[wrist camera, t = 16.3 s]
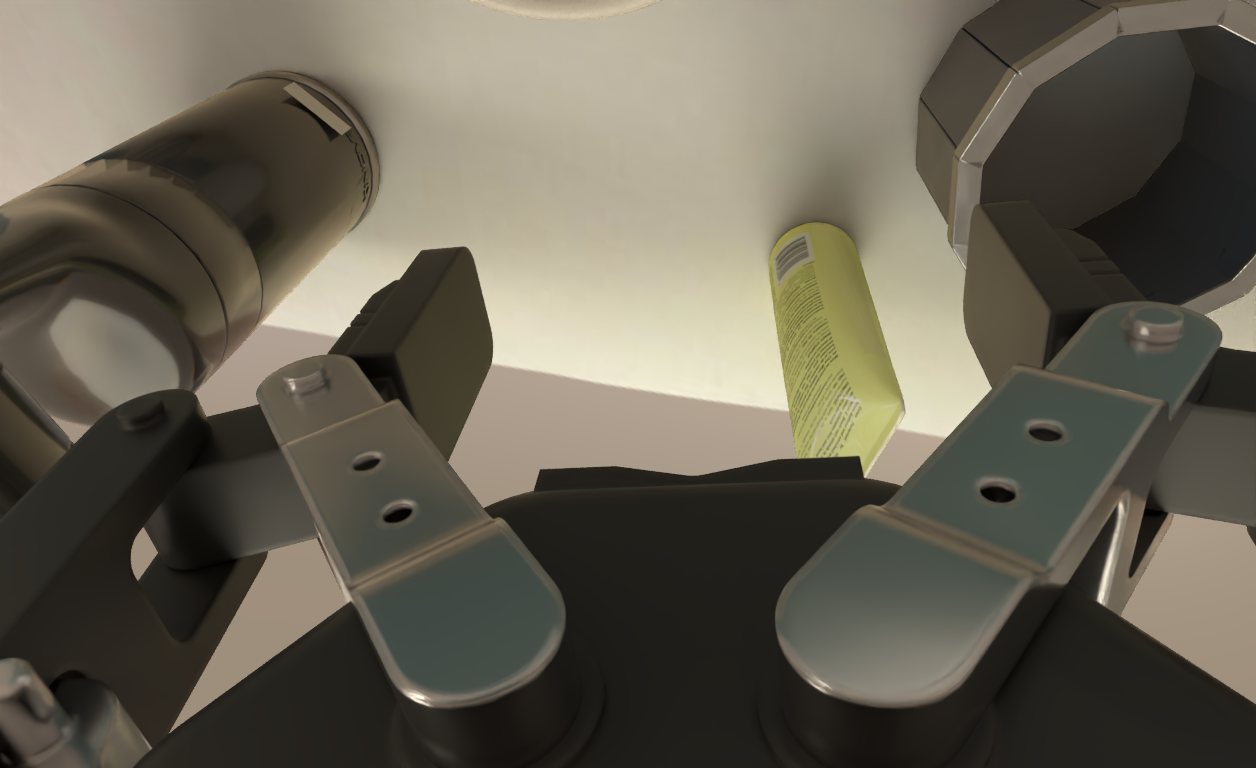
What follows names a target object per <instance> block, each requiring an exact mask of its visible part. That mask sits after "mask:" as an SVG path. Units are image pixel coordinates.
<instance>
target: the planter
mask: <svg viewBox="0 0 1256 768" xmlns="http://www.w3.org/2000/svg"><path fill="white" fill-rule="evenodd" d="M469 1H472V2H475V3H477V4H480V5H483V6H485V7H488V8H490V9H493V10H497V11H501V12H505V13H509V14H512V15H516V16H521V17H528V18H535V19H542V20H559V21H577V20H589V19H600V18H605V17H610V16H615V15H620V14H625V13H628V12H631V11H635V10H638V9H641V8H644V7H647V6H650V5H653V4H655V3H657V2H660V1H662V0H469Z"/></svg>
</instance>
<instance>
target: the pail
mask: <svg viewBox="0 0 1256 768" xmlns="http://www.w3.org/2000/svg"><path fill="white" fill-rule="evenodd" d="M963 28H964V29H960V30H959V32H958V34H957V35H956V37H955V39H954V40H953V42H952V44H951V45H950V47H949V49H948V50H947V52H946V54H945V55H944V57H943V59H942V60H941V62H940V64H939V65H938V67H937V69H936V70H935V72H934V74H933V75H932V77H931V79H930V80H929V82H928V84H927V85H926V87H925V89H924V90H923V92H922V94H921V95H920V97H921V98H920V99H919V111H918V131H917V151H916V167H917V171H918V173H919V174H920V176H921V178H922V180H923V181H924V183H925V185H926V187H927V189H928V190H929V192H930V194H931V196H932V198H933V199H934V201H935V203H936V205H937V206H938V208H939V210H940V212H941V214H942V215H943V217H944V219H945V221H946V223H947V224H948V233H947V237H948V242H949V243H950V245H951V247H952V249H953V251H954V252H955V254H956V256H957V257H958V259H959V261H960V262H961V264H962V265H963V267H964V269H965V270H966V264H967V253H968V241H969V230H970V220H971V215H972V211H973V208H974V207H975V205H977V204H980V195H981V185H982V174H983V165H984V163H985V162H986V160H987V159H988V157H989V156H990V154H991V153H992V151H993V150H994V148H995V147H996V145H997V144H998V142H999V141H1000V139H1001V138H1002V137H1003V135H1004V134H1005V132H1006V131H1007V129H1008V128H1009V126H1010V125H1011V123H1012V122H1013V120H1014V119H1015V117H1016V116H1017V114H1018V113H1019V111H1020V110H1021V108H1022V107H1023V105H1024V104H1025V102H1026V101H1027V100H1028V98H1029V97H1030V95H1031V94H1032V92H1033V91H1034V89H1035V88H1037V87H1038V86H1040V85H1041V84H1043V83H1045V82H1046V81H1048V80H1050V79H1051V78H1053V77H1054V76H1056V75H1058V74H1059V73H1061V72H1062V71H1064V70H1066V69H1067V68H1069V67H1071V66H1072V65H1074V64H1075V63H1077V62H1079V61H1080V60H1082V59H1083V58H1085V57H1087V56H1088V55H1090V54H1092V53H1093V52H1095V51H1096V50H1098V49H1100V48H1101V47H1103V46H1104V45H1106V44H1108V43H1109V42H1111V41H1113V40H1114V39H1116V38H1117V37H1119V36H1125V35H1134V34H1143V33H1153V32H1162V31H1171V30H1178V32H1179V34H1180V37H1181V39H1182V42H1183V44H1184V46H1185V49H1186V51H1187V53H1188V56H1189V58H1190V61H1191V63H1192V65H1193V68H1194V70H1195V72H1196V73H1195V78H1194V82H1193V87H1192V92H1191V96H1190V101H1189V106H1188V110H1187V115H1186V120H1185V124H1184V129H1183V134H1182V139H1181V140H1180V142H1179V143H1178V144H1177V145H1176V147H1175V148H1174V149H1173V150H1172V152H1171V153H1170V154H1169V155H1168V157H1167V158H1166V159H1165V160H1164V162H1163V163H1162V164H1161V165H1160V167H1159V168H1158V169H1157V170H1156V172H1155V173H1154V174H1153V175H1152V177H1151V178H1150V179H1149V180H1148V182H1147V183H1146V184H1145V185H1144V187H1143V188H1142V189H1141V190H1140V192H1139V193H1138V194H1137V195H1136V196H1135V197H1133V198H1132V199H1130V200H1128V201H1126V202H1124V203H1122V204H1121V205H1119V206H1117V207H1115V208H1113V209H1111V210H1110V211H1108V212H1106V213H1104V214H1102V215H1100V216H1098V217H1097V218H1095V219H1093V220H1091V221H1089V222H1087V223H1086V224H1084V225H1082V226H1080V227H1078V228H1076V229H1074V230H1071V231H1073V232H1076V233H1078V234H1080V235H1082V236H1084V237H1086V238H1088V239H1091V240H1093V241H1094V242H1095V243H1096V244H1097V245H1098V246H1099V247H1100V248H1101V249H1102V251H1103V252H1104V253H1105V254H1106V255H1107V256H1108V260H1111V261H1112V262H1113V263H1114V264H1115V265H1116V266H1117V267H1118V268H1119V270H1120V274H1122V273H1123V274H1124V275H1125V276H1126V277H1127V278H1128V280H1129V281H1130V282H1131V283H1132V284H1133V285H1134V286H1135V287H1136V289H1137V290H1138V291H1139V292H1140V293H1141V294H1142V295H1143V296H1144V297H1145V299H1146V300H1147V301H1150V302H1161V303H1167V304H1172V305H1177V306H1181V307H1184V308H1187V309H1191V310H1193V311H1196V312H1198V313H1201V314H1202V315H1205V314H1207V313H1209V312H1211V311H1213V310H1216V309H1218V308H1220V307H1222V306H1224V305H1226V304H1228V303H1230V302H1232V301H1235V300H1237V299H1239V298H1241V297H1243V296H1244V294H1248V293H1249V292H1250V291H1251V290H1252V288H1253V287H1254V286H1255V285H1256V7H1254V6H1252V5H1250V4H1248V3H1246V2H1244V1H1243V0H1001V1H999V2H998V3H996V4H995V5H993V6H992V7H990V8H989V9H987V10H986V11H984V12H983V13H982V14H980V15H979V16H977V17H976V18H974V19H973V20H971V21H970V22H968V23H967V24H965V25H964V26H963Z"/></svg>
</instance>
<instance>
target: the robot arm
mask: <svg viewBox="0 0 1256 768" xmlns="http://www.w3.org/2000/svg"><path fill="white" fill-rule="evenodd" d="M379 178H380V172H379V162H378V157H377V152H376V149H375V146H374V143H373V141H372V138H371V136H370V134H369V132H368V130H367V128H366V127H365V125H364V123H363V122H362V120H361V119H360V117H359V116H358V115H357V114H356V112H355V111H354V110H353V109H352V108H351V107H350V105H349V104H348V103H347V102H346V101H344V100H343V99H342V98H341V97H340V96H339V95H338V94H336V93H335V92H334V91H332V90H331V89H329V88H328V87H326V86H325V85H323V84H321V83H319V82H317V81H315V80H313V79H311V78H308V77H306V76H303V75H299V74H295V73H291V72H284V71H267V72H261V73H257V74H253V75H250V76H248V77H246V78H244V79H242V80H240V81H238V82H236V83H234V84H233V85H231V86H230V87H228V88H227V89H226V90H225V91H223V92H221V93H219V94H217V95H215V96H213V97H211V98H209V99H207V100H205V101H203V102H201V103H199V104H197V105H195V106H193V107H191V108H189V109H187V110H185V111H183V112H181V113H180V114H178V115H176V116H174V117H172V118H170V119H168V120H166V121H164V122H162V123H160V124H158V125H156V126H154V127H152V128H150V129H148V130H146V131H145V132H143V133H141V134H139V135H137V136H135V137H133V138H131V139H129V140H127V141H125V142H123V143H121V144H119V145H117V146H115V147H113V148H111V149H109V150H108V151H106V152H104V153H102V154H100V155H98V156H96V157H94V158H92V159H90V160H88V161H86V162H84V163H82V164H81V165H79V166H77V167H75V168H73V169H71V170H70V171H68V172H66V173H64V174H62V175H60V176H58V177H56V178H54V179H52V180H50V181H48V182H46V183H44V184H42V185H40V186H38V187H36V188H34V189H32V190H31V191H29V192H26V193H24V194H22V195H20V196H18V197H16V198H14V199H12V200H11V201H9V202H7V203H5V204H3V205H1V206H0V768H1256V704H1254V703H1253V702H1251V701H1250V700H1248V699H1247V698H1245V697H1244V696H1242V695H1240V694H1239V693H1238V692H1236V691H1234V690H1233V689H1231V688H1230V687H1228V686H1226V685H1225V684H1224V683H1222V682H1221V681H1219V680H1218V679H1216V678H1214V677H1213V676H1211V675H1210V674H1208V673H1207V672H1205V671H1204V670H1202V669H1201V668H1199V667H1197V666H1196V665H1194V664H1193V663H1191V662H1190V661H1188V660H1186V659H1185V658H1184V657H1182V656H1180V655H1179V654H1177V653H1176V652H1174V651H1173V650H1171V649H1169V648H1168V647H1167V646H1165V645H1164V644H1162V643H1160V642H1159V641H1157V640H1156V639H1154V638H1153V637H1151V636H1150V635H1148V634H1147V633H1145V632H1143V631H1142V630H1141V629H1139V628H1137V627H1136V626H1134V625H1133V624H1131V623H1129V622H1128V621H1127V620H1125V619H1124V618H1122V617H1121V614H1122V612H1123V610H1124V608H1125V606H1126V604H1127V602H1128V600H1129V599H1130V597H1131V595H1132V593H1133V592H1134V590H1135V588H1136V586H1137V584H1138V583H1139V581H1140V579H1141V577H1142V575H1143V574H1144V572H1145V570H1146V568H1147V566H1148V565H1149V563H1150V561H1151V559H1152V557H1153V556H1154V554H1155V552H1156V550H1157V548H1158V547H1159V545H1160V543H1161V541H1162V539H1163V538H1164V536H1165V534H1166V532H1167V530H1168V529H1169V526H1170V525H1171V522H1172V520H1173V517H1174V513H1175V514H1181V515H1187V516H1193V517H1200V518H1205V519H1211V520H1217V521H1223V522H1229V523H1235V524H1241V525H1246V526H1247V531H1248V533H1249V535H1250V537H1251V539H1252V540H1253V542H1254V543H1255V545H1256V352H1250V351H1242V350H1234V349H1229V348H1224V347H1220V345H1221V341H1222V332H1221V330H1220V328H1219V326H1218V325H1217V324H1216V323H1215V322H1213V321H1212V320H1211V319H1209V318H1208V317H1206V316H1204V315H1202V314H1201V313H1198V312H1196V311H1193V310H1191V309H1187V308H1184V307H1181V306H1177V305H1172V304H1167V303H1161V302H1150V301H1147V300H1146V299H1145V297H1144V296H1143V295H1142V294H1141V293H1140V292H1139V291H1138V290H1137V289H1136V287H1135V286H1134V285H1133V284H1132V283H1131V282H1130V281H1129V280H1128V278H1127V277H1126V276H1125V275H1124V274H1123V273H1122V274H1120V270H1119V268H1118V267H1117V266H1116V265H1115V264H1114V263H1113V262H1112V261H1111V260H1108V256H1107V255H1106V254H1105V253H1104V252H1103V251H1102V249H1101V248H1100V247H1099V246H1098V245H1097V244H1096V243H1095V242H1094V241H1093V240H1091V239H1088V238H1086V237H1084V236H1082V235H1080V234H1078V233H1076V232H1073V231H1071V230H1069V229H1067V228H1063V229H1052V227H1051V226H1050V225H1049V224H1048V223H1047V221H1046V220H1045V219H1044V218H1043V216H1042V215H1041V214H1040V213H1039V212H1038V210H1037V209H1036V208H1035V207H1034V205H1033V204H1032V203H1031V202H1030V201H1029V200H1021V201H1009V202H997V203H985V204H977V205H975V207H974V208H973V211H972V215H971V220H970V230H969V241H968V253H967V264H966V276H965V287H964V300H963V312H964V323H965V329H966V333H967V336H968V339H969V341H970V343H971V345H972V347H973V349H974V351H975V354H976V356H977V358H978V360H979V362H980V364H981V366H982V368H983V370H984V372H985V375H986V377H987V379H988V381H989V383H990V385H991V387H992V390H991V391H990V392H989V393H988V394H987V395H986V396H985V397H984V398H983V399H982V400H981V401H980V403H979V404H978V405H977V406H976V407H975V408H974V409H973V410H972V411H971V412H970V413H969V414H968V416H967V417H966V418H965V419H964V420H963V421H962V422H961V423H960V424H959V425H958V426H957V427H956V429H955V430H954V431H953V432H952V433H951V434H950V435H949V436H948V437H947V438H946V439H945V440H944V442H943V443H942V444H941V445H940V446H939V447H938V448H937V449H936V450H935V451H934V452H933V454H932V455H931V456H930V457H929V458H928V459H927V460H926V461H925V462H924V463H923V465H921V466H920V468H919V469H918V470H917V471H916V472H915V473H914V474H913V475H912V476H911V477H910V478H909V479H908V481H907V482H906V483H905V484H904V485H903V486H900V485H897V484H893V483H888V482H884V481H879V480H874V479H867V478H864V474H863V470H862V465H861V460H860V456H846V457H822V458H799V459H778V460H772V461H768V462H763V463H758V464H753V465H748V466H744V467H739V468H734V469H729V470H724V471H719V472H715V473H710V474H705V475H699V476H686V475H678V474H670V473H662V472H655V471H647V470H640V469H632V468H624V467H617V466H611V467H588V468H564V469H543V470H542V469H541V470H540V472H539V475H538V478H537V482H536V485H535V488H534V491H532V492H527V493H523V494H520V495H517V496H513V497H510V498H507V499H504V500H502V501H499V502H496V503H494V504H492V505H490V506H487V507H485V508H483V507H482V506H481V505H480V503H479V502H478V501H477V500H476V498H475V497H474V496H473V494H472V493H471V492H470V490H469V489H468V488H467V486H466V485H465V484H464V483H463V481H462V480H461V479H460V478H459V476H458V475H457V473H456V472H455V471H454V470H453V468H452V467H451V466H450V464H449V463H448V461H449V458H450V456H451V454H452V452H453V449H454V447H455V445H456V443H457V440H458V438H459V436H460V434H461V431H462V429H463V427H464V424H465V422H466V420H467V418H468V416H469V413H470V411H471V409H472V407H473V405H474V402H475V400H476V398H477V395H478V393H479V391H480V389H481V387H482V384H483V382H484V380H485V378H486V375H487V373H488V371H489V369H490V366H491V363H492V357H493V339H492V332H491V327H490V323H489V319H488V315H487V311H486V307H485V303H484V299H483V295H482V291H481V287H480V282H479V278H478V274H477V270H476V266H475V262H474V259H473V256H472V254H471V252H470V251H469V249H468V248H467V247H454V248H442V249H430V250H422V251H421V252H420V253H419V254H418V255H417V257H416V258H415V260H414V261H413V262H412V264H411V265H410V266H409V268H408V269H407V270H406V272H405V273H404V275H403V276H402V277H401V279H400V280H395V281H393V282H392V283H390V284H389V285H387V286H386V287H384V288H383V289H381V290H380V291H378V292H377V293H375V294H374V295H372V296H371V298H370V299H369V300H368V302H367V303H366V304H365V306H364V307H363V308H362V309H361V311H360V313H361V314H358V315H357V316H356V317H355V318H354V320H353V321H352V322H351V324H350V325H351V327H348V328H347V329H346V330H345V331H344V333H343V334H342V335H341V337H340V338H339V339H338V341H337V342H336V343H335V345H334V346H333V347H332V348H331V350H330V351H329V352H328V354H327V355H319V356H313V357H310V358H305V359H302V360H299V361H296V362H293V363H291V364H288V365H286V366H284V367H282V368H280V369H279V370H277V371H275V372H274V373H272V374H271V375H269V376H268V377H267V378H266V379H265V380H264V381H263V382H262V383H261V384H260V385H259V387H258V389H257V392H256V397H257V400H258V402H259V404H258V405H254V406H251V407H246V408H243V409H238V410H234V411H229V412H226V413H221V414H217V415H213V416H208V417H206V415H205V413H204V411H203V409H202V407H201V405H200V403H199V401H198V398H197V396H196V395H195V393H196V392H197V391H198V389H200V387H201V386H202V385H203V384H204V383H205V382H206V381H207V380H208V379H209V378H210V377H211V376H212V375H213V374H214V373H215V372H216V371H217V370H218V369H219V368H220V367H221V365H222V364H223V363H224V362H225V361H226V360H227V359H228V358H229V357H230V356H231V355H232V354H233V353H234V352H235V351H236V350H237V349H238V348H239V347H240V346H241V345H242V343H243V342H244V341H245V340H246V339H247V338H248V336H250V335H251V334H252V332H254V330H255V329H256V328H257V327H258V326H259V325H260V324H261V323H262V322H263V321H264V320H265V319H266V318H267V317H268V316H269V315H270V314H271V313H272V312H273V311H274V309H275V308H276V307H277V306H278V305H279V304H280V303H281V302H282V301H283V300H284V299H285V298H286V297H287V296H288V295H289V294H290V293H291V292H292V291H293V290H294V288H295V287H296V286H297V285H298V284H299V283H300V282H301V281H302V280H303V279H304V278H305V277H306V276H307V275H308V274H309V273H310V272H311V271H312V270H313V269H314V267H315V266H316V265H317V264H318V263H319V262H320V261H321V260H322V259H323V258H324V257H325V256H326V255H327V254H328V253H329V252H330V251H331V250H332V249H333V248H334V247H335V246H336V245H337V244H338V242H339V241H340V240H341V239H342V238H343V237H344V236H345V235H346V234H347V233H349V232H350V231H352V230H353V229H354V228H355V227H356V226H357V225H358V224H359V223H360V222H361V221H362V220H363V219H364V218H365V217H366V215H367V214H368V213H369V211H370V210H371V208H372V206H373V204H374V201H375V199H376V196H377V192H378V188H379ZM50 416H51V417H54V418H57V419H60V420H63V421H66V422H70V423H73V424H77V425H82V426H87V427H91V428H90V429H89V430H88V431H87V432H86V433H85V434H84V435H83V436H82V437H81V438H80V439H79V440H78V441H77V442H76V443H75V444H74V443H73V442H72V441H70V439H69V437H68V436H67V435H66V434H65V432H64V431H63V430H62V429H61V428H60V427H59V426H58V425H57V424H56V423H55V421H54V420H53V419H52V418H51V417H50ZM143 527H144V528H145V530H146V532H147V534H148V535H149V537H150V539H151V541H152V542H153V544H154V546H155V548H156V550H157V551H158V554H157V555H156V557H155V558H154V559H153V561H152V562H151V564H150V565H149V566H148V568H147V569H146V571H145V572H144V574H143V575H142V576H141V578H140V579H139V580H138V581H137V579H136V578H135V576H134V574H133V571H132V567H131V549H132V545H133V542H134V539H135V537H136V536H137V534H138V533H139V531H140V530H141V529H142V528H143ZM314 538H317V539H318V542H319V544H320V546H321V549H322V551H323V553H324V555H325V557H326V560H327V562H328V564H329V566H330V568H331V571H332V572H333V575H334V577H335V579H336V582H337V584H338V586H339V588H340V590H341V592H342V595H343V597H344V599H345V601H346V603H347V604H346V605H345V606H343V607H342V608H340V609H339V610H338V611H336V612H335V613H334V614H332V615H331V616H329V617H328V618H327V619H325V620H324V621H322V622H321V623H320V624H318V625H317V626H316V627H314V628H313V629H312V630H310V631H309V632H307V633H306V634H305V635H303V636H302V637H301V638H299V639H298V640H297V641H295V642H294V643H292V644H291V645H290V646H288V647H287V648H286V649H284V650H283V651H281V652H280V653H279V654H277V655H276V656H274V657H273V658H272V659H270V660H269V661H268V662H266V663H265V664H263V665H262V666H261V667H259V668H258V669H257V670H255V671H254V672H252V673H251V674H250V675H248V676H247V677H246V678H244V679H243V680H241V681H240V682H239V683H237V684H236V685H235V686H233V687H232V688H231V689H229V690H228V691H226V692H225V693H224V694H222V695H221V696H219V697H218V698H217V699H215V700H214V701H213V702H212V703H210V704H208V705H207V706H206V707H205V708H203V709H202V710H200V711H199V712H197V713H196V714H195V715H193V716H192V717H191V718H189V719H188V720H187V721H185V722H184V723H182V724H181V725H180V726H178V727H177V728H176V729H174V730H173V731H172V732H171V733H169V732H170V730H171V728H172V727H173V725H174V723H175V721H176V720H177V718H178V716H179V714H180V712H181V710H182V708H183V707H184V705H185V703H186V702H187V700H188V698H189V696H190V694H191V692H192V691H193V689H194V687H195V686H196V684H197V682H198V680H199V678H200V677H201V675H202V673H203V671H204V669H205V668H206V666H207V664H208V662H209V660H210V659H211V657H212V655H213V653H214V652H215V650H216V648H217V646H218V644H219V643H220V641H221V639H222V637H223V635H224V634H225V632H226V630H227V628H228V626H229V624H230V623H231V621H232V619H233V617H234V616H235V614H236V612H237V610H238V608H239V607H240V605H241V603H242V601H243V600H244V598H245V596H246V594H247V592H248V591H249V589H250V587H251V585H252V583H253V582H254V580H255V578H256V576H257V574H258V573H259V571H260V569H261V567H262V566H263V564H264V562H265V560H266V558H267V554H268V551H269V550H272V549H276V548H280V547H284V546H288V545H291V544H296V543H299V542H303V541H307V540H311V539H314Z"/></svg>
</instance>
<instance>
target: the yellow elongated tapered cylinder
mask: <svg viewBox="0 0 1256 768" xmlns="http://www.w3.org/2000/svg"><path fill="white" fill-rule="evenodd" d="M769 276H770V284H771V291H772V299H773V306H774V313H775V321H776V327H777V334H778V341H779V347H780V354H781V361H782V368H783V374H784V381H785V387H786V393H787V400H788V406H789V412H790V419H791V424H792V430H793V437H794V443H795V449H796V455H797V459H799V458H822V457H846V456H860V460H861V465H862V470H863V474H864V478H866V476H867V475H868V473H869V471H870V470H871V468H872V467H873V465H874V463H875V462H876V460H877V459H878V457H879V455H880V454H881V452H882V451H883V449H884V448H885V446H886V445H887V443H888V441H889V440H890V438H891V437H892V435H893V434H894V432H895V430H896V429H897V427H898V425H899V424H900V422H901V420H902V419H903V417H904V415H905V406H904V400H903V397H902V393H901V390H900V387H899V384H898V381H897V378H896V375H895V372H894V369H893V366H892V363H891V359H890V356H889V353H888V349H887V346H886V343H885V339H884V336H883V333H882V329H881V326H880V323H879V320H878V316H877V313H876V310H875V307H874V304H873V300H872V297H871V294H870V291H869V287H868V284H867V281H866V278H865V275H864V271H863V268H862V264H861V261H860V258H859V255H858V252H857V249H856V246H855V244H854V242H853V241H852V239H851V238H850V237H849V236H848V235H847V234H846V233H845V232H844V231H843V230H841V229H840V228H838V227H835V226H833V225H831V224H827V223H818V222H816V223H807V224H803V225H800V226H797V227H795V228H793V229H791V230H790V231H788V232H787V233H786V234H784V235H783V236H782V237H781V238H780V239H779V240H778V242H777V243H776V245H775V246H774V248H773V250H772V252H771V255H770V259H769Z"/></svg>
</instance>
